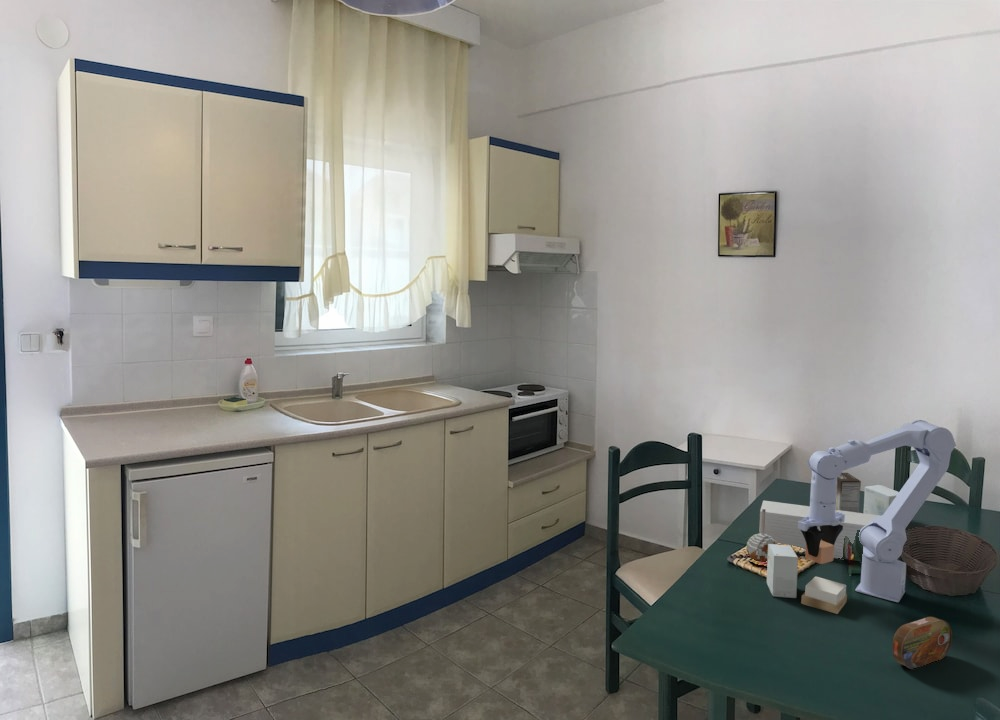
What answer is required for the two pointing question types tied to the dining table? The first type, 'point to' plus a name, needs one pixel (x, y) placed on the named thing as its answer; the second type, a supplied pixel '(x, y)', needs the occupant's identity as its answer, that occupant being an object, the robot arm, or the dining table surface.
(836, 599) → the off-white slab
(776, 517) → the long white box
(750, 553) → the decorative ornament
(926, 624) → the tin
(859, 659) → the dining table surface
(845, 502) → the coffee box
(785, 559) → the small box
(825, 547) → the terracotta block
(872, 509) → the skincare box
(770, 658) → the dining table surface
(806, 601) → the oak slab
